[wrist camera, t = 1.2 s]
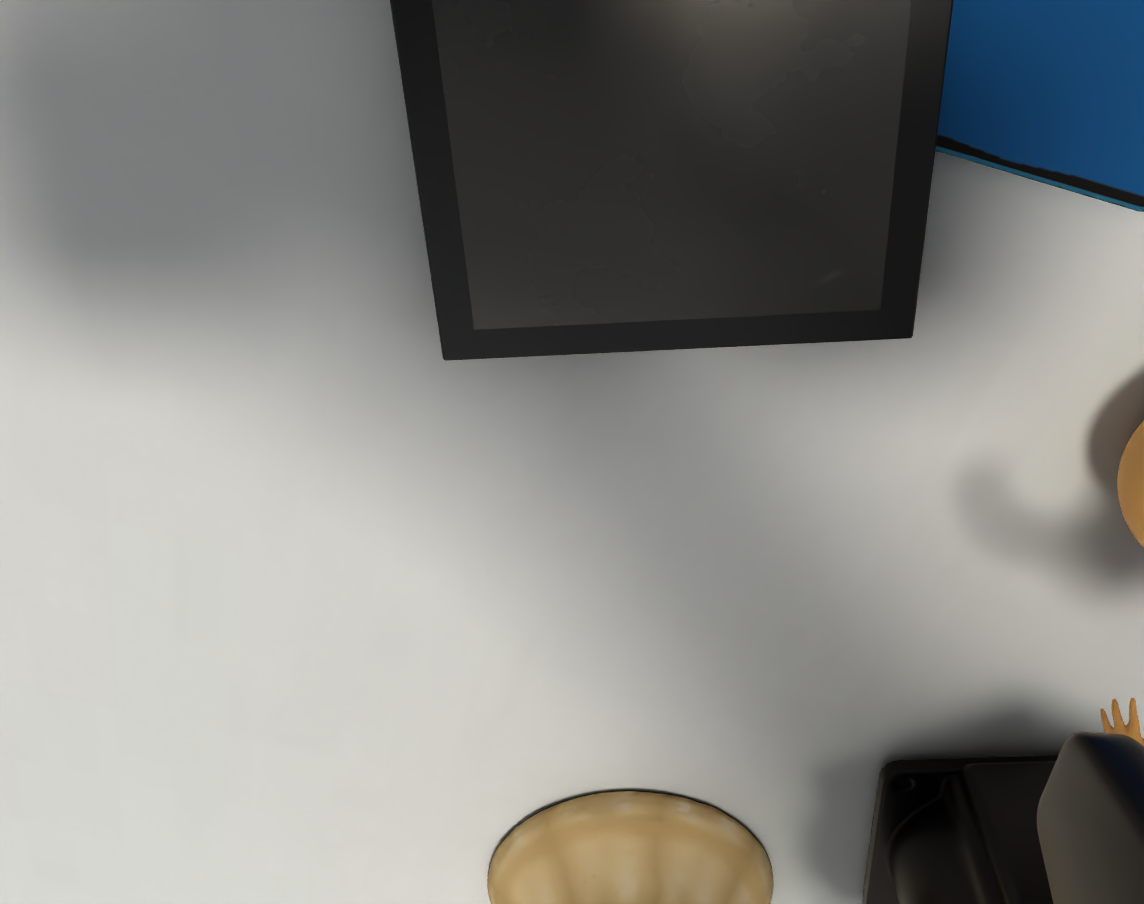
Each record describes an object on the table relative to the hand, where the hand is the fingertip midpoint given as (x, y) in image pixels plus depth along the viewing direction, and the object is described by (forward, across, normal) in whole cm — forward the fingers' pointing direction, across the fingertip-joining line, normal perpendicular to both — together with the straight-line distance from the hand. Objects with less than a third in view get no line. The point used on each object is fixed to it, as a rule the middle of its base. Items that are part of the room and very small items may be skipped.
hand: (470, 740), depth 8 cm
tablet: (+14, -2, -2) cm, 14 cm away
